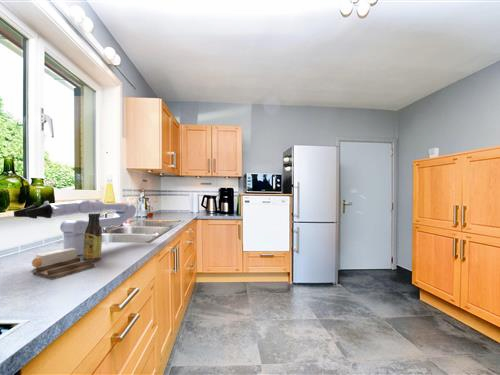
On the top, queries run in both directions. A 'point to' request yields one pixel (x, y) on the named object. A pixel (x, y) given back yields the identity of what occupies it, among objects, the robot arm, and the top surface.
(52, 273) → the jig
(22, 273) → the top surface
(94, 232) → the sauce bottle
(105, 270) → the top surface
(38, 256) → the white post with dome
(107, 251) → the top surface
